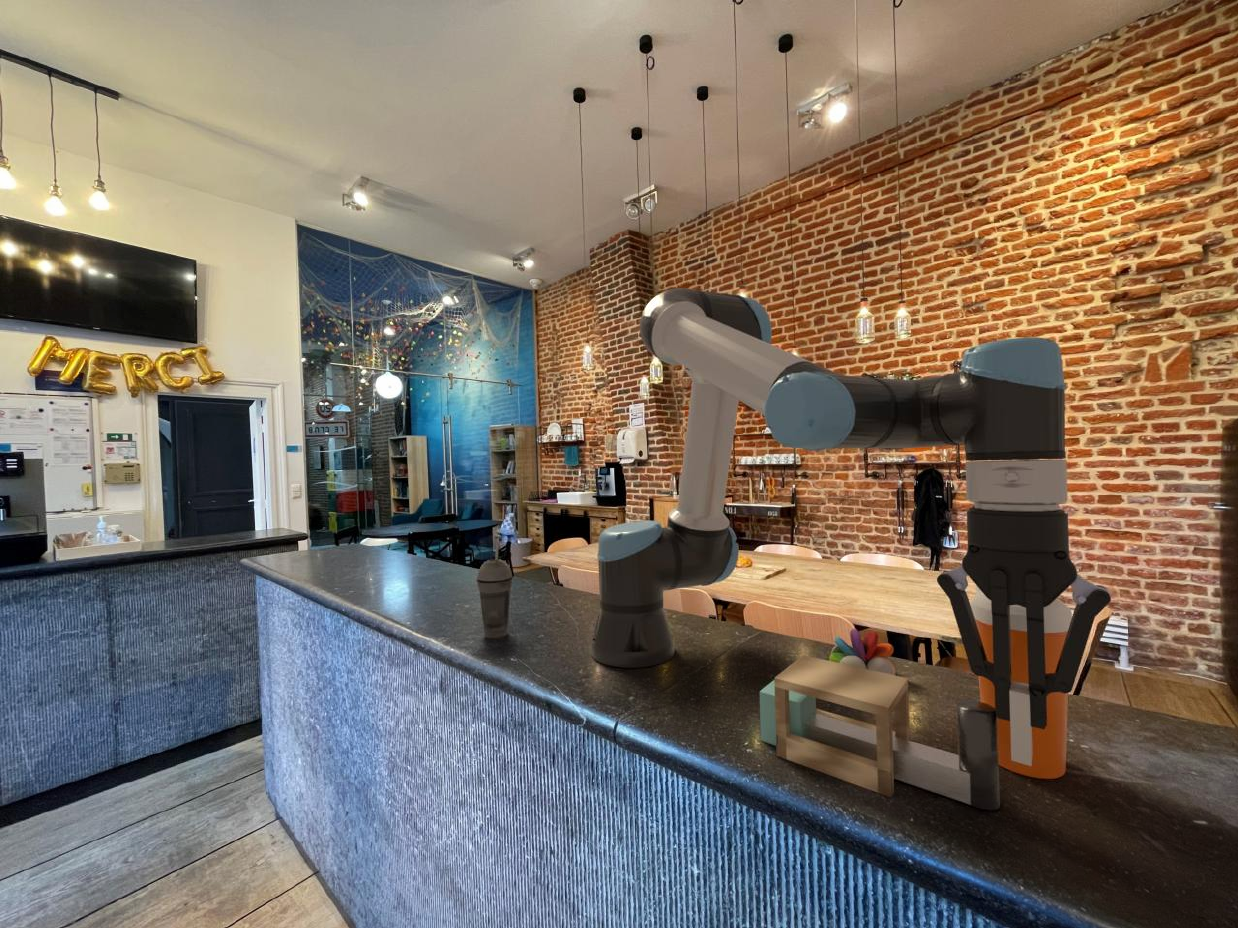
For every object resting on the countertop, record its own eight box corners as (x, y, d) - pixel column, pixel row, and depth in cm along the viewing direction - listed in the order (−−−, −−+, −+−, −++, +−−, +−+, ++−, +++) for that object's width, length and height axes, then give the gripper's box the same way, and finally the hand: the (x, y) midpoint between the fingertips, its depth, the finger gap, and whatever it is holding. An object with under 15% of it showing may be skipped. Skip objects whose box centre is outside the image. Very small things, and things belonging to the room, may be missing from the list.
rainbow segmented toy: (904, 689, 75) (903, 640, 75) (835, 685, 77) (833, 637, 77) (887, 667, 83) (886, 622, 84) (824, 663, 86) (823, 620, 86)
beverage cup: (498, 626, 110) (495, 534, 110) (521, 632, 106) (519, 536, 106) (470, 636, 104) (467, 538, 104) (494, 643, 100) (491, 541, 100)
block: (760, 740, 62) (759, 691, 62) (777, 723, 66) (776, 677, 66) (801, 754, 59) (800, 702, 59) (816, 736, 63) (815, 687, 63)
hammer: (804, 748, 60) (802, 671, 60) (814, 736, 62) (812, 662, 62) (998, 814, 48) (995, 718, 48) (1001, 797, 50) (998, 705, 50)
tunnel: (776, 755, 59) (774, 677, 59) (805, 724, 66) (803, 654, 66) (891, 797, 51) (888, 707, 51) (910, 757, 58) (907, 678, 58)
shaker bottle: (1047, 794, 51) (1041, 594, 51) (957, 750, 59) (952, 577, 59) (1095, 771, 54) (1089, 584, 55) (1004, 732, 63) (999, 569, 63)
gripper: (927, 507, 49) (934, 750, 49) (1114, 512, 41) (1123, 806, 41) (940, 501, 55) (946, 719, 55) (1106, 505, 47) (1114, 762, 47)
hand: (1022, 756), depth 48 cm, fingers closed
